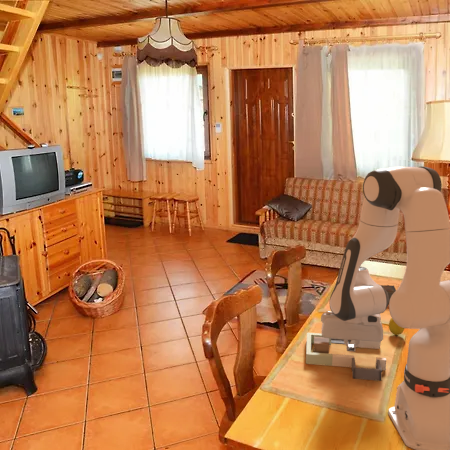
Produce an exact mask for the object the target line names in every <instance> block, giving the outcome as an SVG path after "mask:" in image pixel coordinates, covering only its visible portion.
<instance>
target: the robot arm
mask: <svg viewBox="0 0 450 450" xmlns="http://www.w3.org/2000/svg"><path fill="white" fill-rule="evenodd" d="M442 186H443V185H442V179H441V176H440V174H439V173H438V172H437V170H435V169H434V168H431V167H427V166H422V165H421V166H403V165H402V166H393V167H392V166H391V167H387V168H385V167H384V168H383V167H381V168H378V169H377V168H376V169H374V170H372V171H370V172H368V173H367V174H366V176H365V178H364V180H363V184H362V192H363V196H364V198H363V201H362V205H361V211H360V215H359V217H360V218H359V222H358V223H359V224H358V226H357V229H356V232H355V234H354V235H353V237H351V239H349V240H348V242H347V244H346V245H345V248H344V251H343V255H342V260H341V263H340V266H339V271H338V274H337V279H336V283H335V285H334V287H333V290H332V292H331V294H330V297H329V308H330V311H328V310H326V311H325V312H323V313H322V314H321V317H320V318H321V323H322V324H321V334H322V336H323V337H324V338H330V339H344V343H345V344H344V345H345V346H346V351H347V352H357V351H356V350H357V348H358V347H357V346H358V344H359V342H360V340H361V341H376V342H381V343H382V341H383V340H384V327H383V324H382V321H381V318H382V316H381V314H383V313H385V312H386V310H387V308H388V311H389V314H390V317H391V318H392V319H393V320H394V322H395V323H396V324H397V325H398V326H400V327H402V328H404V329H411V330H415V329H416V330H418V331H417V332H414V334H413V335H412V336H411V337H410V340H409V342H408V348H407V349H408V350H407V351H408V352H407V358H406V359H407V360H406V364H405V366H404V372H403V381H402V382H401V383H400V384H398V385H397V387H396V394H395V395H396V396H395V402H394V406H391V407H390V408H388V410H387V411H388V412H387V414H388V416H389V417H390V419H391V421H392V422H393V425H394V426H395V429H396V430H397V432H398V434H399V436H400V437H401V439H402V441H403V443H404V444H405V446H406V447H408V448H410V449H412V450H450V279H448V280H441V279H442V275H443V272H444V270H445V269H446V268H447V266H448V265H450V216H449V211H448V207H447V203H446V199H445V198H444V194H443V193H442ZM400 211H401V212H402V214H403V219H404V231H405V242H406V268H405V272H404V275H403V278H402V280H401V282H400V285H399V286H398V288H397V289H396V291H395V292H394V293H393V295H392V296H391V298H390V301H389V304H388V300H389V298H388V293H387V291H386V290H385V289H384V288H383V287H382V286H381V284H378V283H377V282H376V281H375V280H374V279H373V277H372V276H371V275H370V272H369V269H368V268H366V267H364V266H362V264H364V263H365V261H366V260H368V259H370V258H371V257H372V256H375V255H377V254H379V253H381V252H383V251H385V250H386V249H389V248H390V246H392V245H393V244H394V242H395V239H396V237H397V234H398V229H399V228H398V227H399V220H400ZM348 340H355V343H354V344H353V345H351V344H348Z"/></svg>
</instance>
